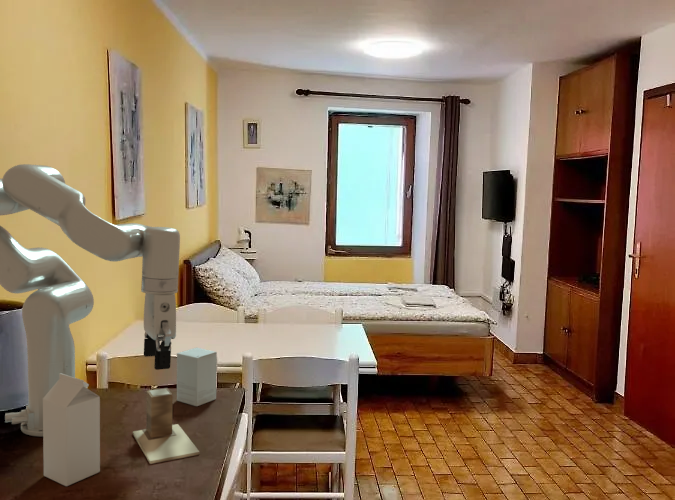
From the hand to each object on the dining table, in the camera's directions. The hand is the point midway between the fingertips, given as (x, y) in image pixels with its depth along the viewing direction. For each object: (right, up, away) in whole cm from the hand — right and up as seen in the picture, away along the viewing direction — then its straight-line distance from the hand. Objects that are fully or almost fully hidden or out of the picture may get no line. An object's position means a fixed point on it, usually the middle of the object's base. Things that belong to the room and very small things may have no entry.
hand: (156, 362), depth 132 cm
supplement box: (+3, -14, +24) cm, 28 cm away
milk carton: (-11, -18, -17) cm, 27 cm away
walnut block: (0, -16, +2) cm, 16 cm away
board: (+3, -17, -3) cm, 17 cm away
